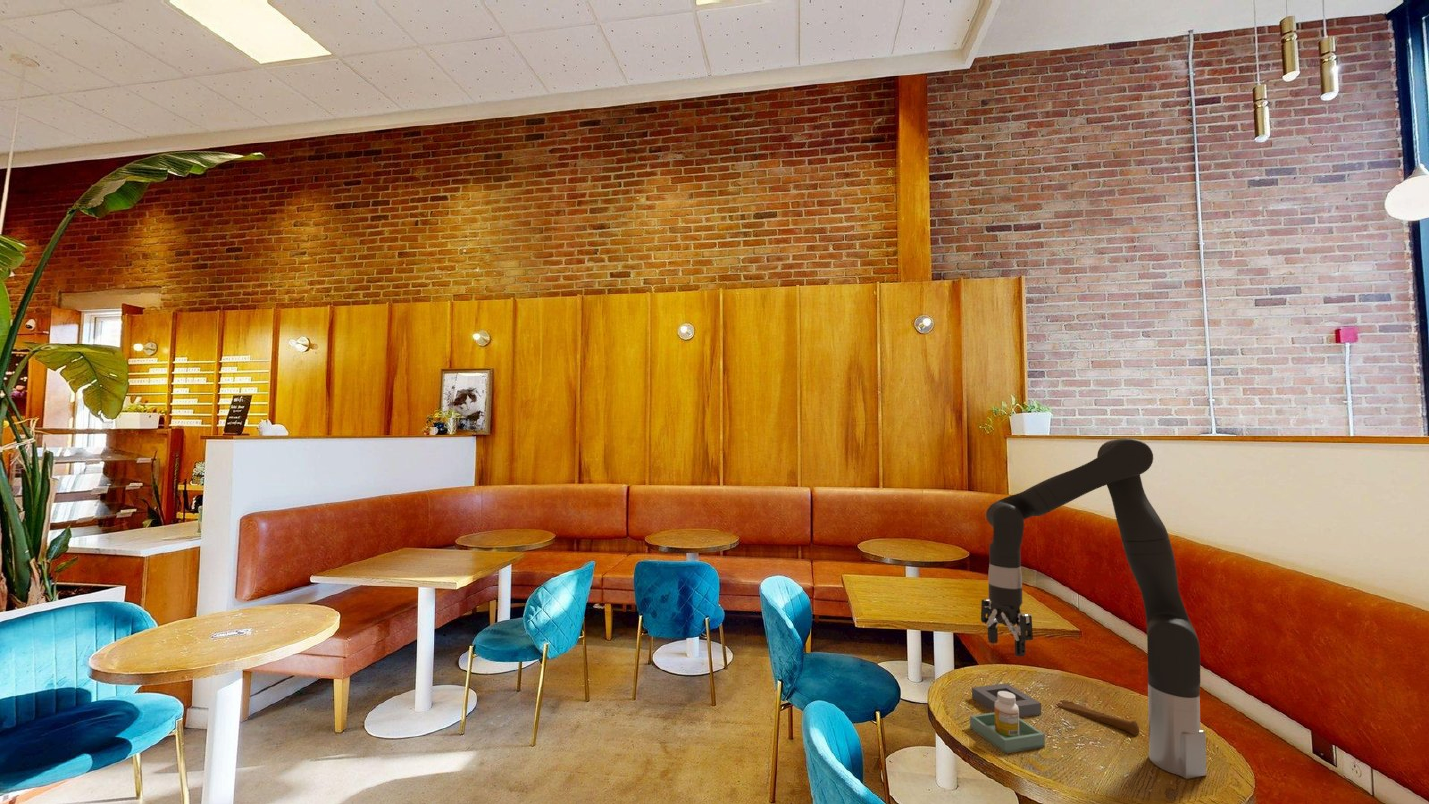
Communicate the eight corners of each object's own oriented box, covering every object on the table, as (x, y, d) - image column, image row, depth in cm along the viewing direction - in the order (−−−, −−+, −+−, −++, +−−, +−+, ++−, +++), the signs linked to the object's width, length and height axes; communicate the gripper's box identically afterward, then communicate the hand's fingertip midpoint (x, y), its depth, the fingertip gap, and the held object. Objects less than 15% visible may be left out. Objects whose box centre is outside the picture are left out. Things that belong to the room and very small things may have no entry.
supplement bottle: (997, 726, 141) (997, 687, 142) (1021, 734, 138) (1020, 694, 139) (992, 735, 137) (991, 694, 138) (1016, 743, 134) (1015, 701, 134)
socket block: (1041, 714, 149) (1041, 703, 149) (1004, 719, 146) (1004, 708, 146) (1006, 693, 161) (1006, 683, 161) (971, 698, 158) (971, 687, 158)
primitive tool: (1053, 706, 155) (1053, 693, 155) (1062, 701, 158) (1062, 689, 158) (1135, 739, 139) (1135, 725, 139) (1143, 733, 142) (1143, 719, 142)
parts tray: (1044, 747, 134) (1044, 734, 134) (1005, 753, 131) (1005, 740, 131) (1007, 722, 145) (1007, 710, 145) (970, 727, 142) (970, 715, 142)
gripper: (1040, 590, 134) (1041, 659, 133) (995, 575, 147) (996, 637, 147) (1015, 592, 132) (1016, 662, 131) (972, 576, 145) (972, 640, 144)
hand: (1005, 649), depth 139 cm, fingers open, 8 cm apart
